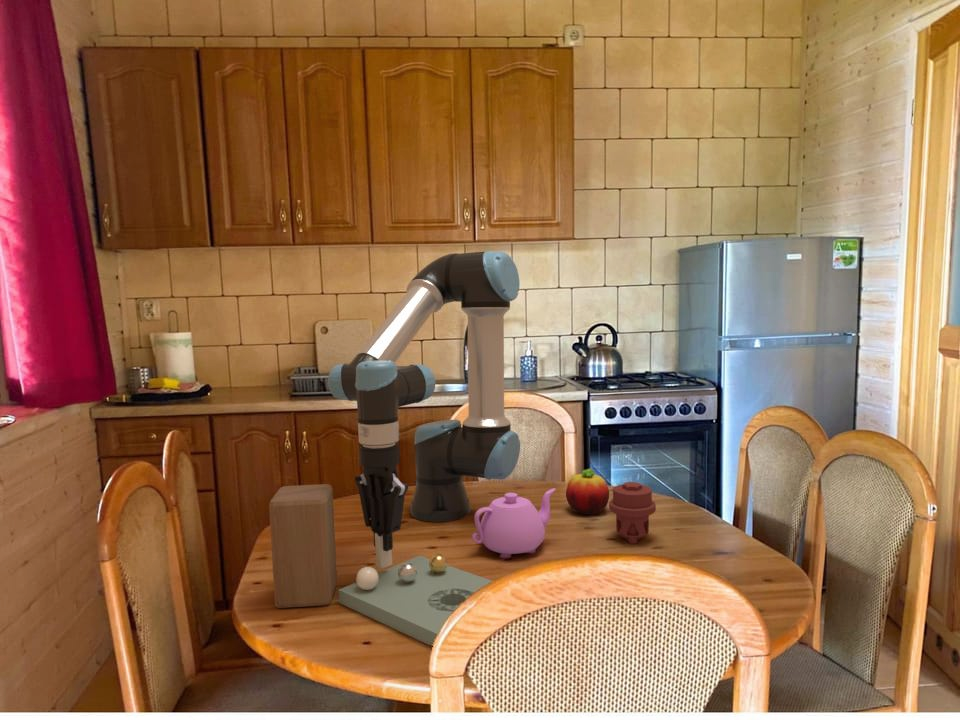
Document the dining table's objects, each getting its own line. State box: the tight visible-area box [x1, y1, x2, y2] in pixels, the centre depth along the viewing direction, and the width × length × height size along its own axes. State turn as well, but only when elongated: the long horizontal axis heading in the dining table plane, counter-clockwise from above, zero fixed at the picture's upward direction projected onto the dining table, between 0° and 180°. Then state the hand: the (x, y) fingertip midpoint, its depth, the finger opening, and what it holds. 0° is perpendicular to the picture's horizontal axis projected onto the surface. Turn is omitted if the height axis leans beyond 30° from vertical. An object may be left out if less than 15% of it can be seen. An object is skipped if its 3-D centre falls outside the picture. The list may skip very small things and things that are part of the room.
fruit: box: [565, 468, 610, 515], centre depth 168 cm, size 11×11×10 cm
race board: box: [338, 555, 493, 647], centre depth 120 cm, size 26×20×2 cm
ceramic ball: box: [355, 566, 379, 590], centre depth 121 cm, size 4×4×4 cm
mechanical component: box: [608, 481, 657, 545], centre depth 148 cm, size 12×10×10 cm
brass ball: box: [429, 553, 448, 573], centre depth 128 cm, size 4×4×4 cm
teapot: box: [471, 487, 557, 559], centre depth 145 cm, size 20×14×12 cm
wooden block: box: [268, 483, 338, 609], centre depth 124 cm, size 10×10×20 cm
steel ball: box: [398, 563, 417, 583], centre depth 124 cm, size 4×4×4 cm
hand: (384, 565), depth 128 cm, fingers closed
